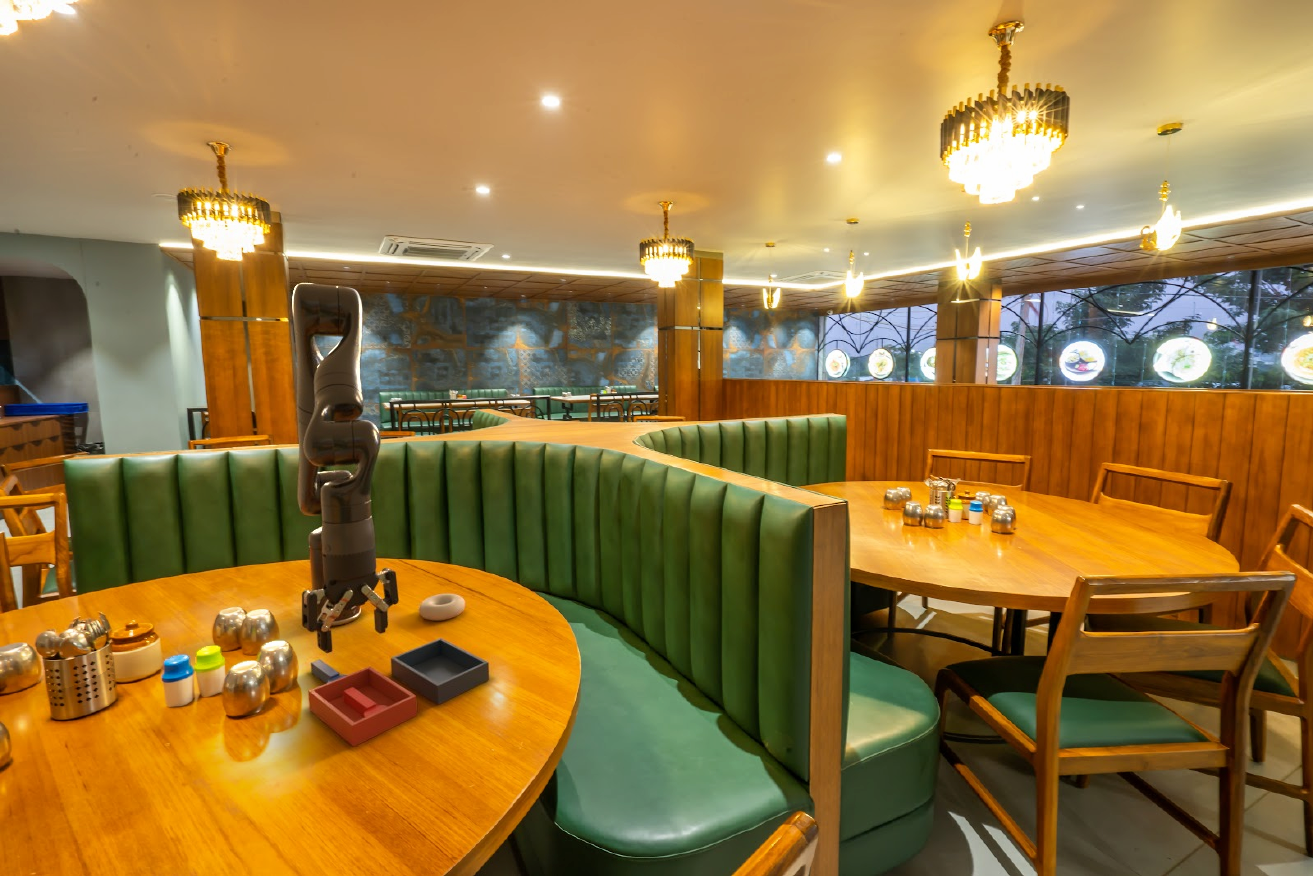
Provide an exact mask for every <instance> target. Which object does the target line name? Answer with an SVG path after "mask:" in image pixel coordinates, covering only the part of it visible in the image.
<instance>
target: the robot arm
mask: <svg viewBox="0 0 1313 876" xmlns="http://www.w3.org/2000/svg"><path fill="white" fill-rule="evenodd" d="M292 317H293V318H292V319H293V330H294V341H295V353H296V367H297V368H296V371H297V373H296V374H297V375H296V377H297V378H296V380H297V381H296V420H297V435H298V469H297V488H296V489H297V492H296V495H297V497H296V498H297V505H298V508H299V511H300V513H302V514H303V515H305V516H309V517H310V516H311V517H313V516H314V517H315V516H321V526H320V527H317V528H315V529H314V530H312V531H311V532H310V533H309V535H308V538H307V539H308V552H309V566H310V581H311V582H310V583H311V590H310V589H305V590H303V591H302V593H301V625H302V626H301V627H303V628H304V629H305V630H307V631H308V632H309V633H314V632H316V640H317V641H316V642H317V648H318V649H319V650H321V651H323V652H324V653H326V654H330V653H332V652H333V639H332V637H333V636H332V630H331V627H337V626H341V625H345V624H348V623H351V622H353V621H356V620H357V619H359V618H360V617H361V616H362V608H361V606H364V605H366V603H367V602H369V604H371V605H372V606H373V607H374V608H375V609H373V617H374V630H375V632H376V633H378V634H380V635H381V634H384V633H386V629H387V628H388V626H389V617H388V613H389V612H388V610H389V609H390V608H391V607H392V606H393V605H397V604H399V601H400V600H399V599H400V598H399V590H398V583H397V582H398V580H397V573H396V571H394V570H392V569H390V568H388V567H384V568H382V570H381V571H379V572H377V571H376V569H377V554H376V553H377V551H376V533H375V532H376V531H375V525H374V520H373V511H372V481H373V477H374V471H375V467H376V464H377V461H378V456H379V453H380V450H381V449H380V448H381V443H382V436H381V432H380V430H379V428H378V426H377V425H376V424H375V423H374V422H372V421H371V420H368V419H359V418H360V417H361V416H362V414H363V413H364V409H365V407H364V406H365V403H364V394H363V393H364V392H363V385H362V378H361V377H362V376H361V375H362V374H361V372H362V371H361V369H362V368H361V367H362V366H361V365H362V354H363V353H362V352H363V332H364V331H363V330H364V325H363V324H364V322H363V321H364V316H363V303H362V299H361V296H360V293H359V292H358V291H357V289H354V288H352V287H349V286H348V287H346V286H342V285H330V284H322V283H321V284H319V283H310V282H309V283H308V282H301V283H298V284H296V286H295V287H294V290H293V294H292ZM315 336H319V337H338V338H340V340H339V342H338V343H337V344H336V345H335V347H334V348H333V349H332V350H330V351H329V352H328V354H327V355H326V356H325V357H324V356H323V354H322V353H321V351H320V349H319V346H318V344H317V341H316V338H315ZM342 466H343V467H344V466H356V468H355V469H354V471H353V472H352V473H351V472H350V470H346V469H341V470H340V469H339V470H329V471H319V470H320V468H328V467H329V468H330V467H342ZM379 583H381V584H382V588H383V597H384V598H381V596H380V595H378V594H377V593H376V592H375V589H376V587H377V586H378V584H379Z"/></svg>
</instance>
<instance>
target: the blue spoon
mask: <svg viewBox="0 0 1313 876" xmlns="http://www.w3.org/2000/svg"><path fill="white" fill-rule="evenodd" d="M310 671H311V672H310V673H311V674H312V675H314V676H315V677H316V678H318V679H319V680H321V681H322V682H323V683H324V684H327V683H329V682H332V681H334V680H337V679H339V678H342V677H344V676H347V675H348V674H340V672H339V671H337V670H336V669H334V668H333V667H331V666H330V665H329V664H327V663H326V662H325V661H323V660H322V659H317V660H315V661H311V662H310Z"/></svg>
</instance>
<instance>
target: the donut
mask: <svg viewBox="0 0 1313 876" xmlns="http://www.w3.org/2000/svg"><path fill="white" fill-rule="evenodd" d="M465 608H466V600H465V599H464V598H463V597H462V596H461V595H459V594H455V593H440V594H434V595H432V596H431V595H430V596H429V597H427V598H425V599H424V600H423V601H421V602H420V604H419V606H418V612H419V615H420V616H421V617H422V618H423V619H425V620H427V621H434V622H435V621H445V620H450V619H453V618H455V617H458V616H460V614H462V612H464V611H465Z"/></svg>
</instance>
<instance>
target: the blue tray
mask: <svg viewBox="0 0 1313 876" xmlns="http://www.w3.org/2000/svg"><path fill="white" fill-rule="evenodd" d="M390 669H391V671H390V672H391V676H392V677H393V678H395V679H397V680H398V681H400V682H401V683H403V684H404V685H406V686H407V687H409V688H410V689H412V690H414V691H415V692H417V693H419V694H420V695H422V696H423V697H424V698H427V699H428V700H429V701H432V702H433V703H435V704H436V705H438V706H439V705H442V704H443V703H445V702H447V701H450V700H452V699H453V698H456V697H458V696H459V695H462V694H463V693H466V692H467V691H470V690H471V689H473V688H476V687H478V686H480V685H482V684H484V683H486V682H488V681H490V663H489V662H488V661H487V660H485V659H483V658H482V657H479V656H477V655H475V654H473V653H471V652H469V651H467V650H465V649H463V648H461V647H459V646H457V645H456V644H453V643H451V642H450V641H447V640H446V639H443V638H442V637H440V638H438V639H435V640H432V641H430V642H428V643H425V644H423V645H421V646H416V647H415V648H413V649H410V650H408V651H407V650H406V651H405V652H402V653H400V654H397V655H395V656H391V657H390Z"/></svg>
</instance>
